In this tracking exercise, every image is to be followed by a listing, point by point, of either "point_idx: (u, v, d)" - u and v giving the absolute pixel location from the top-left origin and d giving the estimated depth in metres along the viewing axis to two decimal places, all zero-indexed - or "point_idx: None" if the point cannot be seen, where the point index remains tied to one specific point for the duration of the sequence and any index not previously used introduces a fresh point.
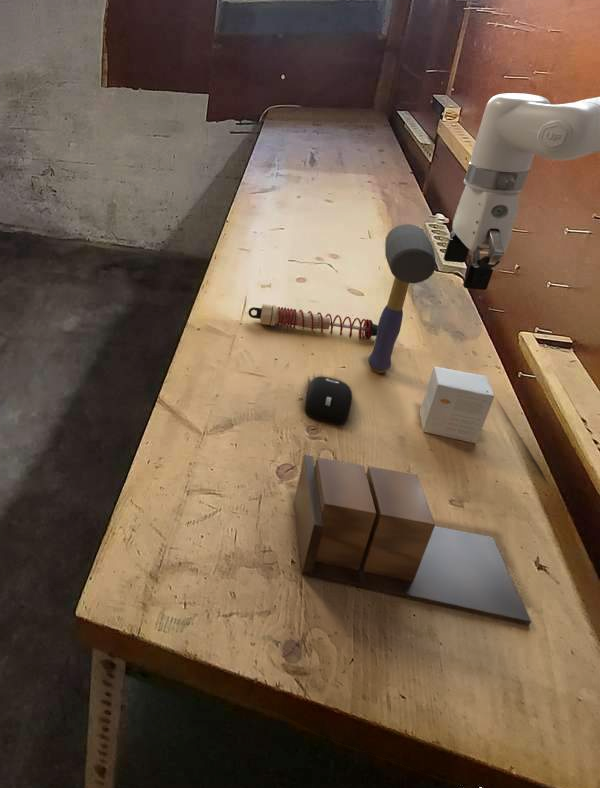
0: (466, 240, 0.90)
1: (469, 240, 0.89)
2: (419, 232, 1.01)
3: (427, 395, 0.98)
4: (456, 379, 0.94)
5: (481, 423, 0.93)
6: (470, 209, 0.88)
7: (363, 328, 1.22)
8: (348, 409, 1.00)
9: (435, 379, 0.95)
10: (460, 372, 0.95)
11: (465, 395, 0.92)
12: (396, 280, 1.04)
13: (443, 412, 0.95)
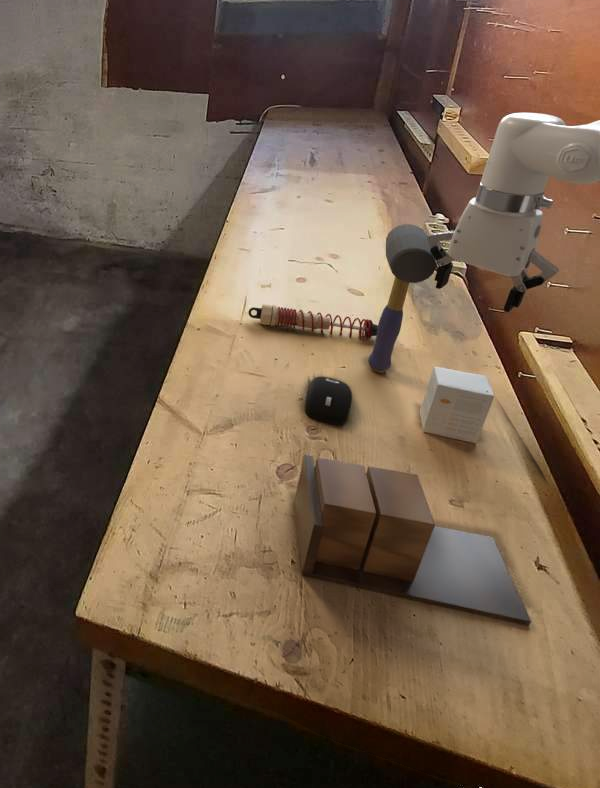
0: (499, 267, 0.85)
1: (508, 266, 0.84)
2: (419, 232, 1.01)
3: (427, 395, 0.98)
4: (456, 379, 0.94)
5: (481, 423, 0.93)
6: (501, 236, 0.84)
7: (363, 328, 1.22)
8: (348, 409, 1.00)
9: (435, 379, 0.95)
10: (460, 372, 0.95)
11: (465, 395, 0.92)
12: (396, 280, 1.04)
13: (443, 412, 0.95)
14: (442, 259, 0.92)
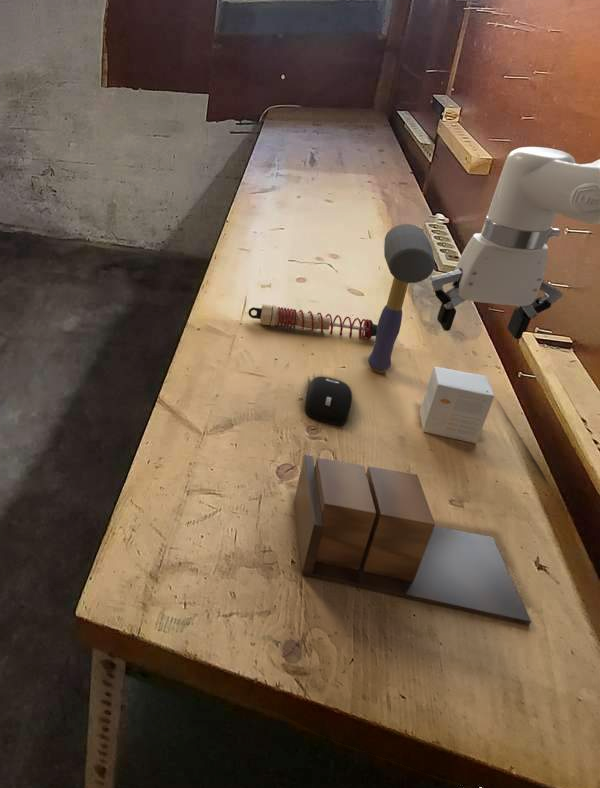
0: (515, 300, 0.84)
1: (525, 298, 0.84)
2: (418, 232, 1.01)
3: (427, 395, 0.98)
4: (456, 379, 0.94)
5: (481, 423, 0.93)
6: (520, 272, 0.82)
7: (363, 328, 1.22)
8: (348, 409, 1.00)
9: (435, 379, 0.95)
10: (460, 372, 0.95)
11: (465, 395, 0.92)
12: (395, 280, 1.04)
13: (443, 412, 0.95)
14: (451, 302, 0.88)
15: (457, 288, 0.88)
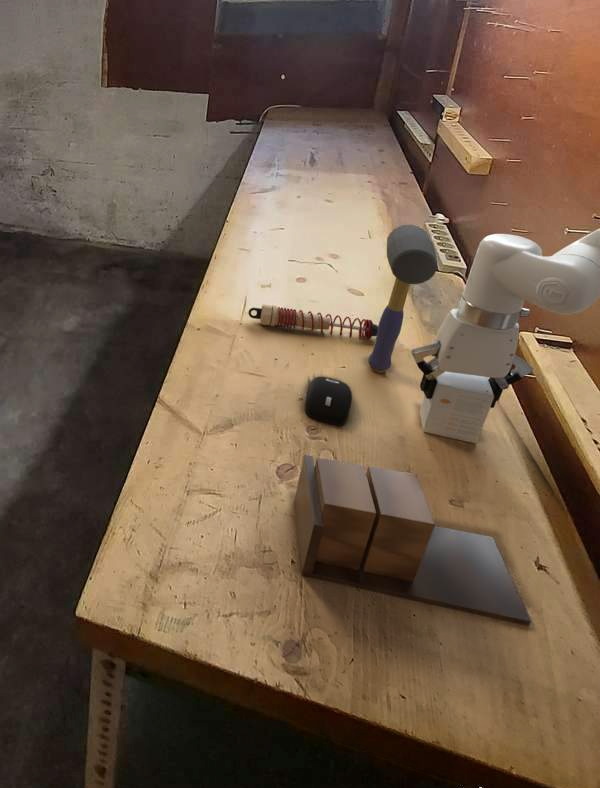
0: (490, 373, 0.90)
1: (499, 371, 0.89)
2: (421, 233, 1.01)
3: None
4: (456, 379, 0.94)
5: (481, 423, 0.93)
6: (493, 348, 0.88)
7: (363, 328, 1.22)
8: (348, 409, 1.00)
9: None
10: None
11: (465, 395, 0.92)
12: (397, 280, 1.04)
13: (443, 412, 0.95)
14: (433, 373, 0.93)
15: (437, 359, 0.94)
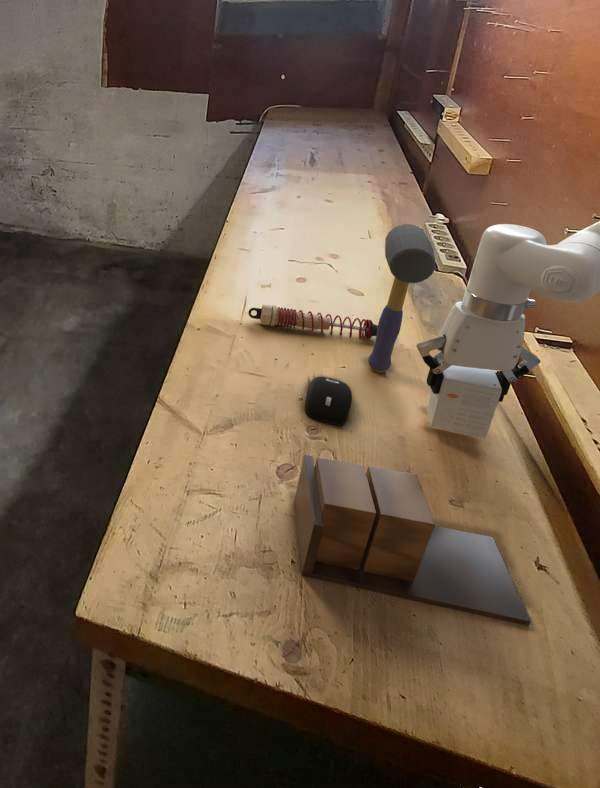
0: (497, 366, 0.89)
1: (506, 364, 0.88)
2: (419, 232, 1.01)
3: None
4: (462, 373, 0.93)
5: (489, 418, 0.91)
6: (500, 340, 0.86)
7: (363, 328, 1.22)
8: (348, 409, 1.00)
9: None
10: None
11: (472, 389, 0.91)
12: (396, 280, 1.04)
13: (451, 407, 0.93)
14: (439, 367, 0.92)
15: (443, 353, 0.93)
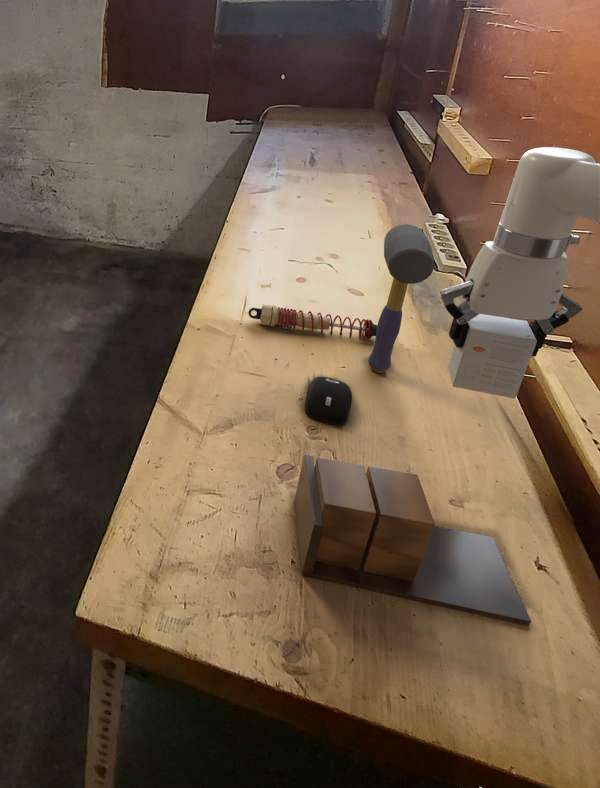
0: (532, 314, 0.78)
1: (543, 311, 0.77)
2: (417, 232, 1.01)
3: None
4: (491, 324, 0.82)
5: (521, 374, 0.81)
6: (536, 283, 0.75)
7: (363, 328, 1.22)
8: (348, 409, 1.00)
9: None
10: (495, 317, 0.83)
11: (502, 340, 0.80)
12: (395, 280, 1.04)
13: (476, 363, 0.82)
14: (464, 317, 0.81)
15: (469, 301, 0.82)
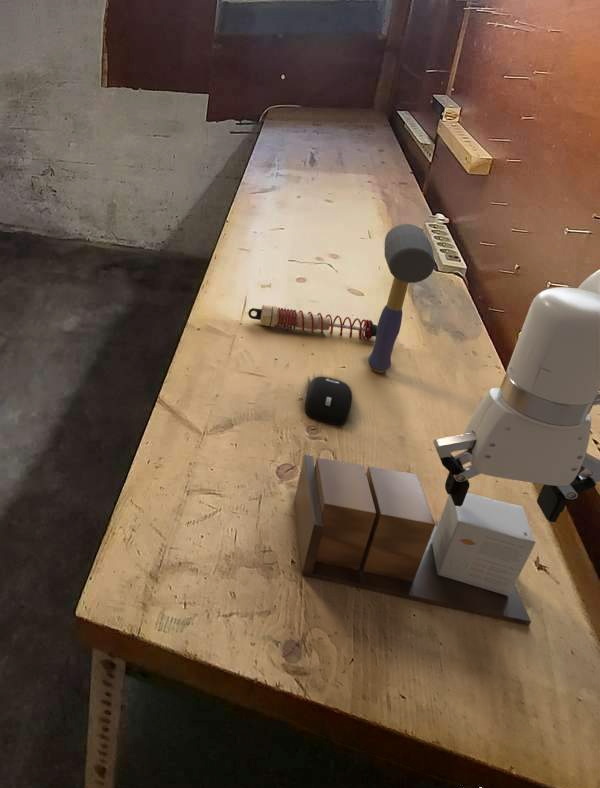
0: (548, 480, 0.64)
1: (561, 478, 0.63)
2: (418, 232, 1.01)
3: (442, 525, 0.74)
4: (482, 512, 0.70)
5: (516, 573, 0.69)
6: (554, 448, 0.61)
7: (363, 329, 1.22)
8: (348, 409, 1.00)
9: (454, 510, 0.71)
10: (487, 499, 0.72)
11: (495, 537, 0.68)
12: (395, 280, 1.04)
13: (465, 555, 0.71)
14: (463, 474, 0.67)
15: (470, 454, 0.68)
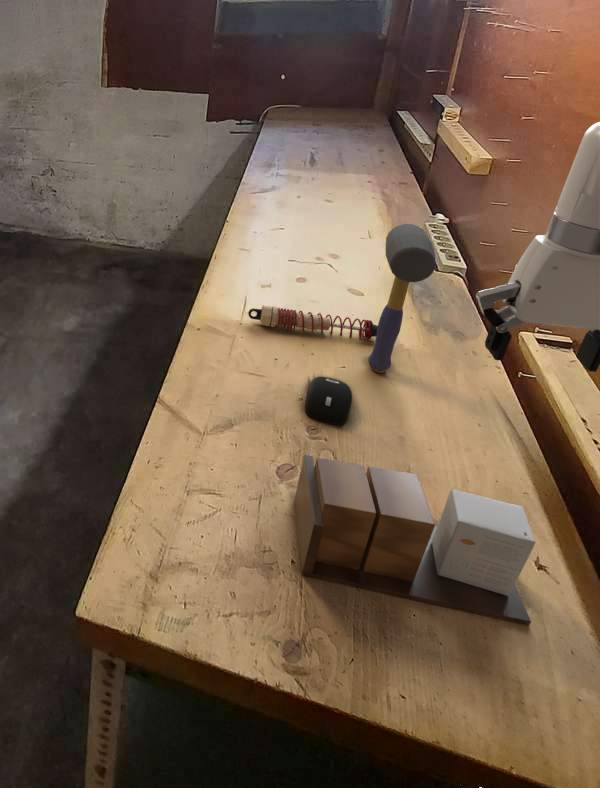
0: (592, 323, 0.64)
1: None
2: (419, 231, 1.01)
3: (442, 525, 0.74)
4: (482, 512, 0.70)
5: (516, 573, 0.69)
6: None
7: (363, 329, 1.22)
8: (348, 409, 1.00)
9: (454, 510, 0.71)
10: (487, 499, 0.72)
11: (495, 537, 0.68)
12: (396, 279, 1.04)
13: (465, 555, 0.71)
14: (506, 324, 0.68)
15: (512, 306, 0.69)
